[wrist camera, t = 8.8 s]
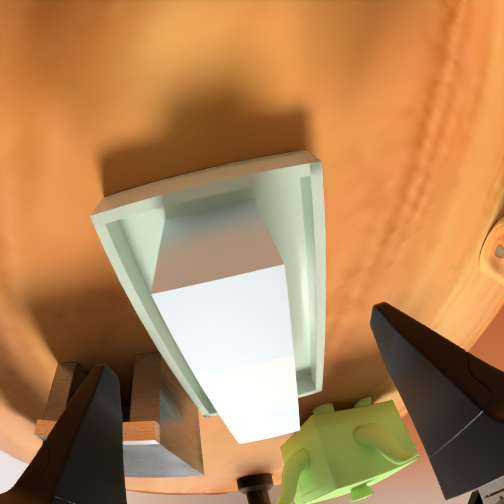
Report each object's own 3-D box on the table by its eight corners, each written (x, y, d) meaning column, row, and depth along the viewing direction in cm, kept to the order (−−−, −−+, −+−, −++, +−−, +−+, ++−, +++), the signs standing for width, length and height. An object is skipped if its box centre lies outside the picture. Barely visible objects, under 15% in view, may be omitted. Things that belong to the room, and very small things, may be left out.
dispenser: (197, 405, 22) (204, 475, 16) (108, 412, 21) (103, 475, 16) (158, 345, 17) (155, 440, 12) (53, 358, 17) (34, 434, 11)
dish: (314, 371, 22) (321, 391, 20) (202, 396, 21) (204, 417, 20) (304, 149, 12) (321, 161, 11) (103, 197, 12) (89, 216, 10)
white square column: (282, 371, 20) (300, 430, 16) (229, 383, 20) (239, 443, 16) (254, 198, 13) (284, 264, 8) (165, 219, 12) (151, 294, 8)
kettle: (244, 425, 26) (265, 523, 16) (374, 363, 23) (425, 465, 14) (303, 447, 34) (323, 514, 24) (395, 403, 31) (426, 469, 22)
